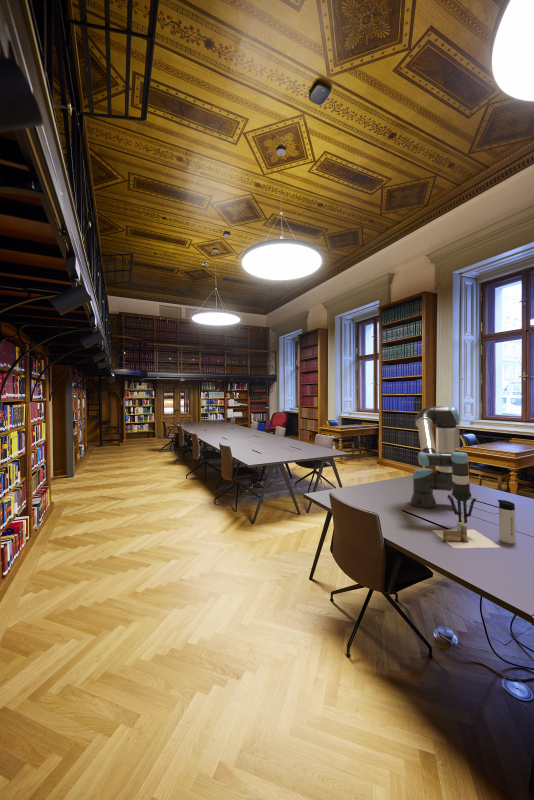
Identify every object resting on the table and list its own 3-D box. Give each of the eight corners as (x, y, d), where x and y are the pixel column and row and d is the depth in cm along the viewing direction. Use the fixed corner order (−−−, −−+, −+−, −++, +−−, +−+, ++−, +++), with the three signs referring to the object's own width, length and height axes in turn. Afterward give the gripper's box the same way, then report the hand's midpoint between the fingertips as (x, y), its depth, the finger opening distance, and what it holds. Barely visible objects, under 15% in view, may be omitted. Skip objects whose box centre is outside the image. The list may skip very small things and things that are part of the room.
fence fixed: (442, 540, 157) (442, 526, 157) (465, 539, 157) (464, 525, 157) (444, 542, 154) (444, 528, 154) (468, 542, 154) (467, 527, 154)
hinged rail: (465, 538, 157) (465, 528, 157) (461, 538, 157) (461, 528, 157) (460, 530, 167) (460, 520, 167) (456, 530, 167) (456, 520, 167)
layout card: (432, 531, 168) (432, 530, 168) (473, 530, 168) (473, 529, 168) (454, 549, 148) (453, 548, 148) (501, 548, 148) (501, 547, 148)
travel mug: (499, 538, 159) (498, 498, 159) (515, 541, 155) (515, 500, 154) (498, 542, 154) (497, 501, 154) (515, 546, 150) (514, 504, 150)
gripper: (476, 482, 162) (478, 528, 162) (447, 479, 170) (450, 524, 170) (475, 486, 156) (477, 534, 156) (445, 483, 164) (448, 529, 164)
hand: (463, 528), depth 163 cm, fingers closed
